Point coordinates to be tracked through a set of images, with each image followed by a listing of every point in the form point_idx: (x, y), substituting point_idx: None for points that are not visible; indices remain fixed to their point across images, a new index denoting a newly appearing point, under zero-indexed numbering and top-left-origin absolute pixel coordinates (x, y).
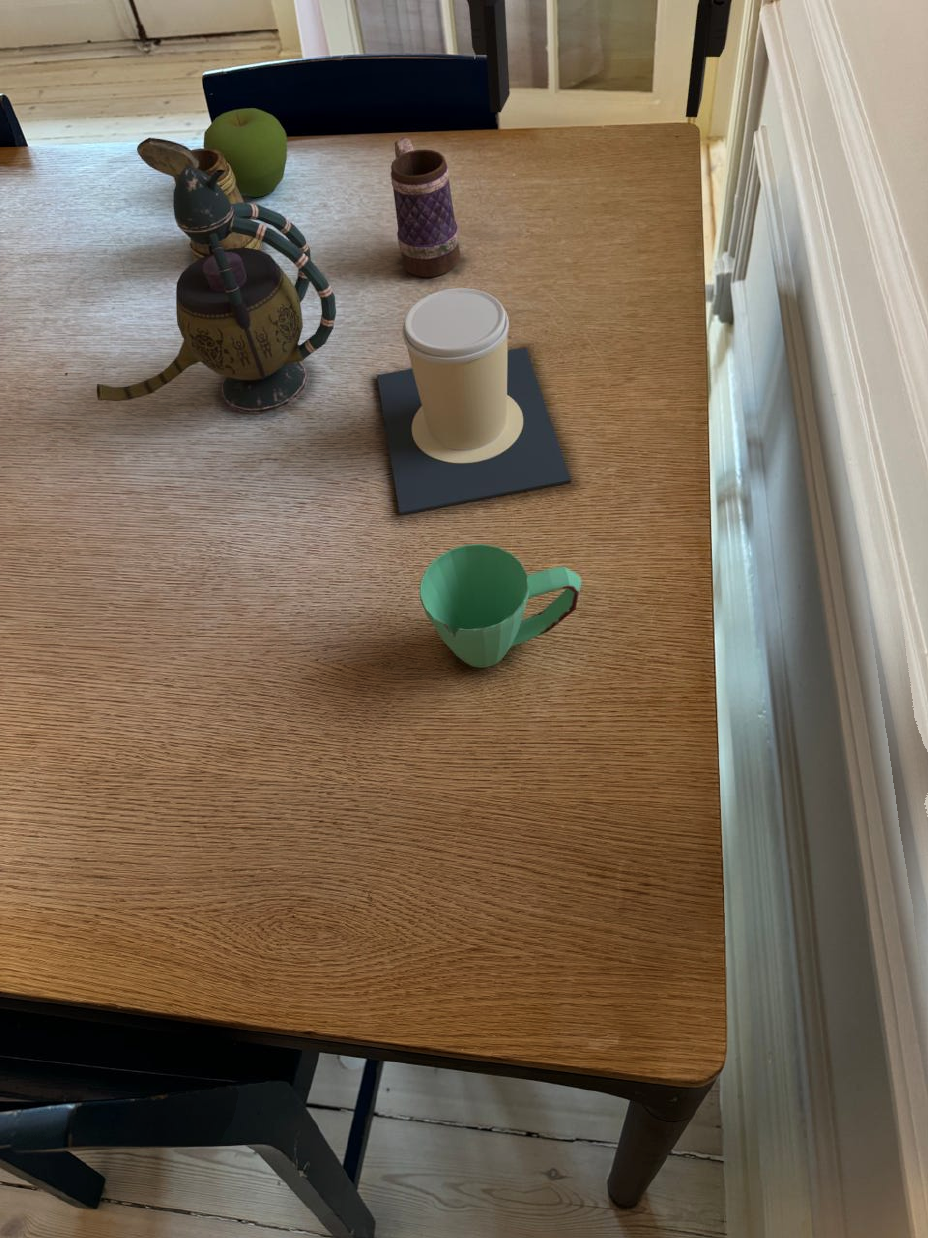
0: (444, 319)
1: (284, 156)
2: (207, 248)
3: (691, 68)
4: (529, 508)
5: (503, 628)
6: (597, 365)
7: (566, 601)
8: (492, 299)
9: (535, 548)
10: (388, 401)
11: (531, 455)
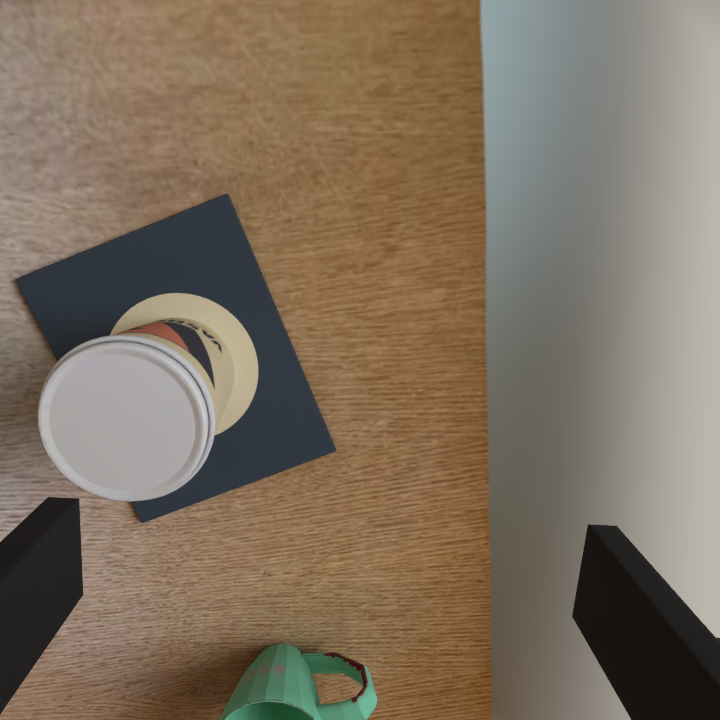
0: (106, 426)
1: None
2: None
3: (624, 706)
4: (293, 492)
5: None
6: (341, 222)
7: (361, 681)
8: (172, 372)
9: (310, 545)
10: (55, 334)
11: (280, 416)
